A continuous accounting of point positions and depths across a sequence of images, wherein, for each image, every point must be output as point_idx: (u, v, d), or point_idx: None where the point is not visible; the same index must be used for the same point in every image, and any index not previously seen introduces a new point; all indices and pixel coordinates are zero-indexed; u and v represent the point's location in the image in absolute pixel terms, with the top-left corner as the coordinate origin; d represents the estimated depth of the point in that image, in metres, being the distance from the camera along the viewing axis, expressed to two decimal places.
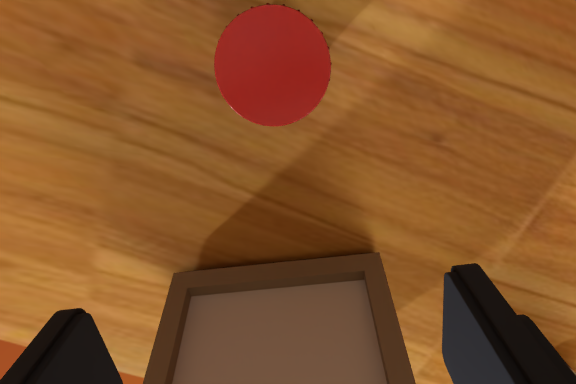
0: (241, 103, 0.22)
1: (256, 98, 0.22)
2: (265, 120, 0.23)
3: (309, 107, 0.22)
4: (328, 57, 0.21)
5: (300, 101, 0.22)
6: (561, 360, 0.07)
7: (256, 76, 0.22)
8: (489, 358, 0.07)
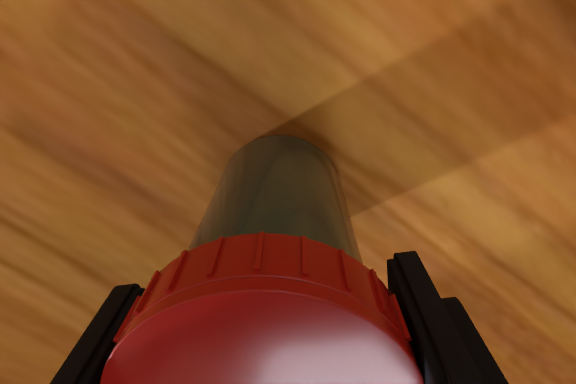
0: None
1: None
2: None
3: None
4: None
5: None
6: (477, 335, 0.08)
7: None
8: (412, 333, 0.08)
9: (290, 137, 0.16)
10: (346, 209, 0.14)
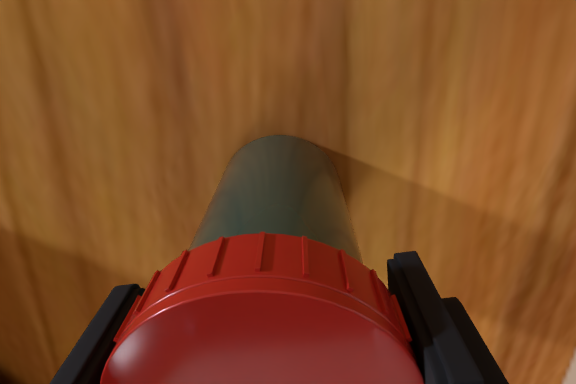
0: None
1: None
2: None
3: None
4: None
5: None
6: (478, 335, 0.08)
7: None
8: (413, 333, 0.08)
9: (334, 167, 0.17)
10: None
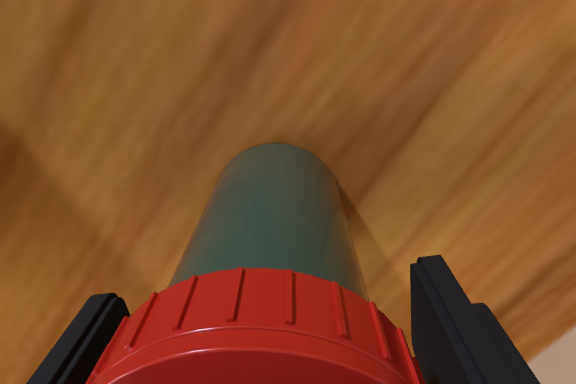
0: None
1: None
2: None
3: None
4: None
5: None
6: (511, 343, 0.08)
7: None
8: (443, 341, 0.07)
9: None
10: None
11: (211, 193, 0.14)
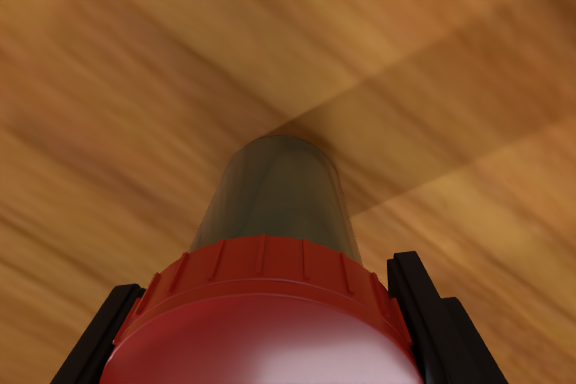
0: None
1: None
2: None
3: (407, 379, 0.07)
4: (280, 300, 0.06)
5: None
6: (478, 335, 0.08)
7: None
8: (412, 333, 0.08)
9: (290, 138, 0.16)
10: (346, 209, 0.14)
11: None
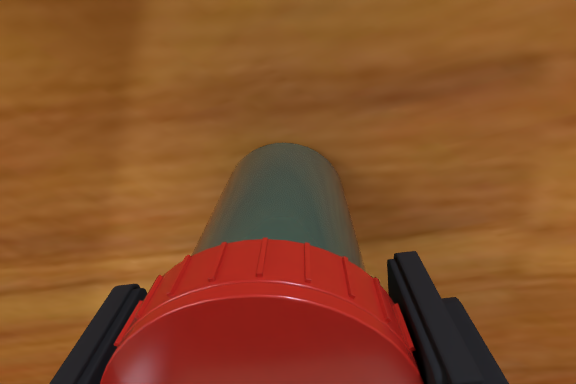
0: None
1: None
2: None
3: None
4: (281, 301, 0.06)
5: None
6: (478, 335, 0.08)
7: None
8: (413, 333, 0.08)
9: None
10: None
11: (272, 158, 0.15)
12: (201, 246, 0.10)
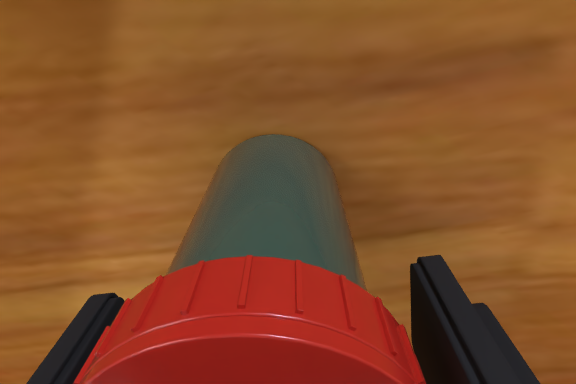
0: None
1: None
2: None
3: None
4: (267, 341, 0.05)
5: None
6: (511, 343, 0.08)
7: None
8: (443, 341, 0.07)
9: None
10: None
11: (260, 152, 0.14)
12: (180, 256, 0.09)
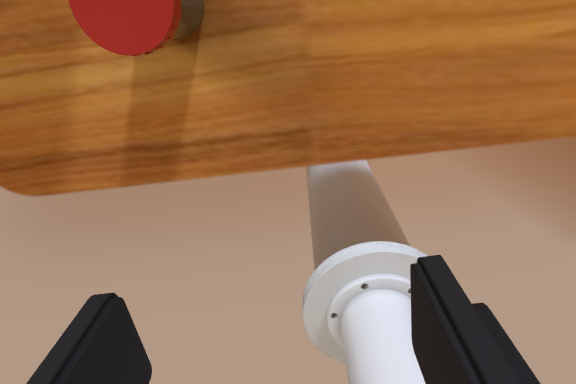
0: (145, 40, 0.25)
1: (143, 24, 0.24)
2: (165, 23, 0.24)
3: None
4: None
5: None
6: (511, 344, 0.08)
7: (124, 17, 0.24)
8: (443, 342, 0.07)
9: (192, 33, 0.35)
10: None
11: None
12: None
